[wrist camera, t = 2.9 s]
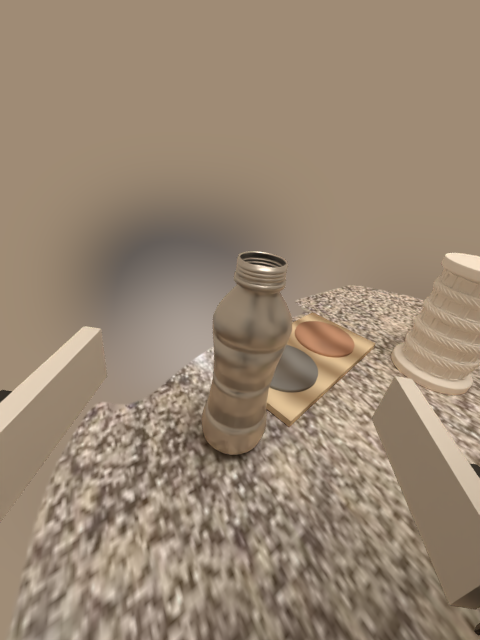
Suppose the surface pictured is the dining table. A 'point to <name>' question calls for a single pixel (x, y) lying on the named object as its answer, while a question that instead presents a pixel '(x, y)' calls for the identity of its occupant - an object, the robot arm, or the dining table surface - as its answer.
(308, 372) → the board
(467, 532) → the robot arm
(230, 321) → the plastic bottle
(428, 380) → the decorative container
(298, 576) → the dining table surface
